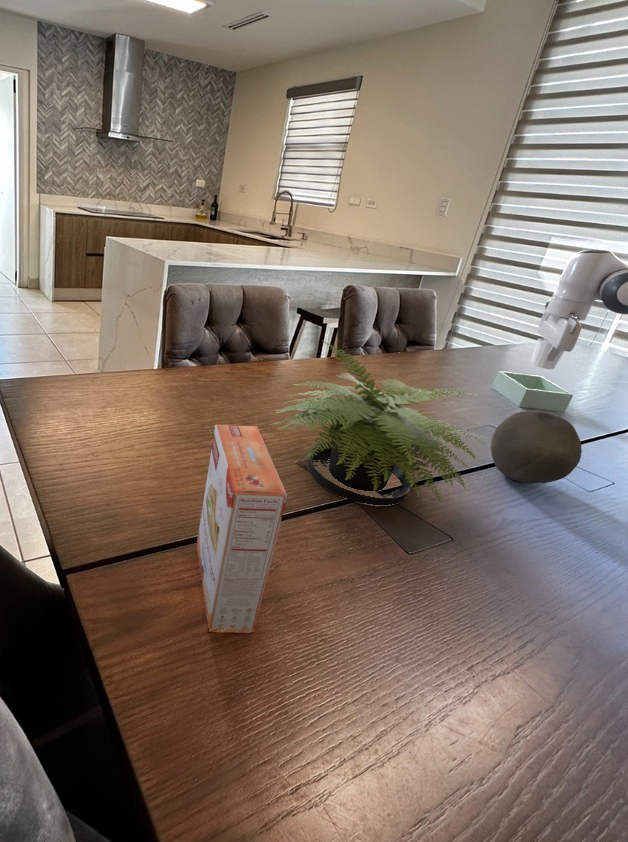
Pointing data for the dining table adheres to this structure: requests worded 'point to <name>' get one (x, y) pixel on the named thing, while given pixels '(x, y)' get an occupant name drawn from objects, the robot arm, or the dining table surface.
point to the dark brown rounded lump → (535, 447)
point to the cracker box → (238, 526)
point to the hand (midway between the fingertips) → (546, 357)
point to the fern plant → (375, 436)
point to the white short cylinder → (544, 355)
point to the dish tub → (532, 391)
